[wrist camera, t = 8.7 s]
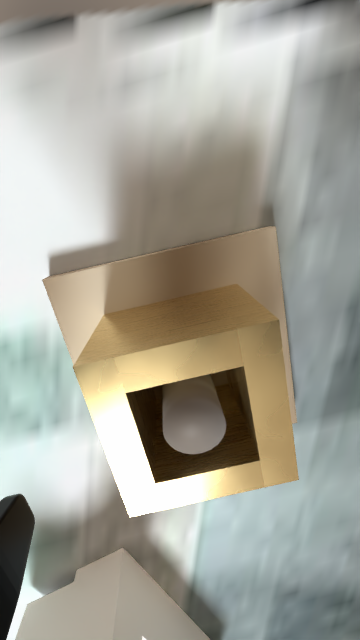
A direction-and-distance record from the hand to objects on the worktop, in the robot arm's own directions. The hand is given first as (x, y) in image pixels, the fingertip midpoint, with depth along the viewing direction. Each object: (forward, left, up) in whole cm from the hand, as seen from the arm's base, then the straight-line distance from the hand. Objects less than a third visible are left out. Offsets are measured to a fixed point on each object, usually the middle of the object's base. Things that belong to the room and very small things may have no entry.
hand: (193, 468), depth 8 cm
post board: (0, 0, -8) cm, 8 cm away
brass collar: (0, 0, -7) cm, 7 cm away
